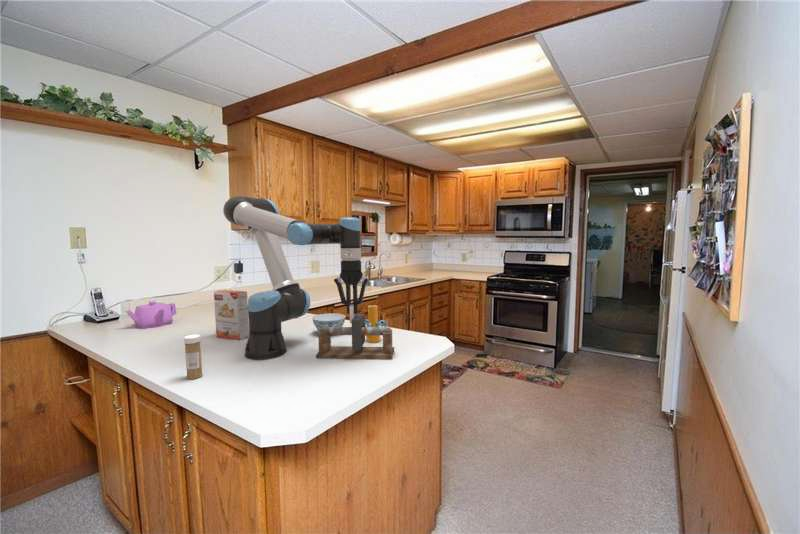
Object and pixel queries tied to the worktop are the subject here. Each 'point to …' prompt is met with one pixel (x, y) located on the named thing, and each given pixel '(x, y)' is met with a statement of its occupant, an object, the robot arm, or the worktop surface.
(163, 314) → the teakettle
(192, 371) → the sprinkles bottle
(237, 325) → the cracker box
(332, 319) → the chinaware
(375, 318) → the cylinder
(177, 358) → the worktop surface
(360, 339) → the collar
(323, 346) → the pipe stand
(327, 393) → the worktop surface
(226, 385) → the worktop surface
